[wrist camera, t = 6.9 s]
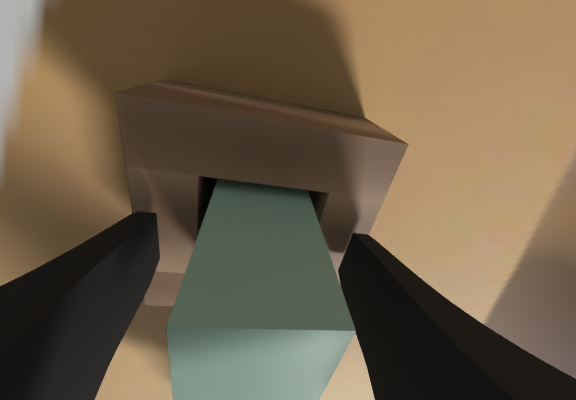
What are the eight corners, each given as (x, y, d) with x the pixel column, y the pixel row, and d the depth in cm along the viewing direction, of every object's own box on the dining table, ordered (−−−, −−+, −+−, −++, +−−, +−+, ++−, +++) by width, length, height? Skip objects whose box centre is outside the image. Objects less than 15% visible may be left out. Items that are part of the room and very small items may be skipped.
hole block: (318, 257, 16) (333, 312, 13) (172, 246, 15) (145, 305, 11) (365, 118, 12) (408, 144, 8) (164, 79, 10) (115, 92, 7)
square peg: (286, 227, 13) (314, 409, 7) (220, 221, 13) (174, 414, 6) (300, 168, 12) (355, 330, 5) (224, 158, 11) (166, 327, 4)
